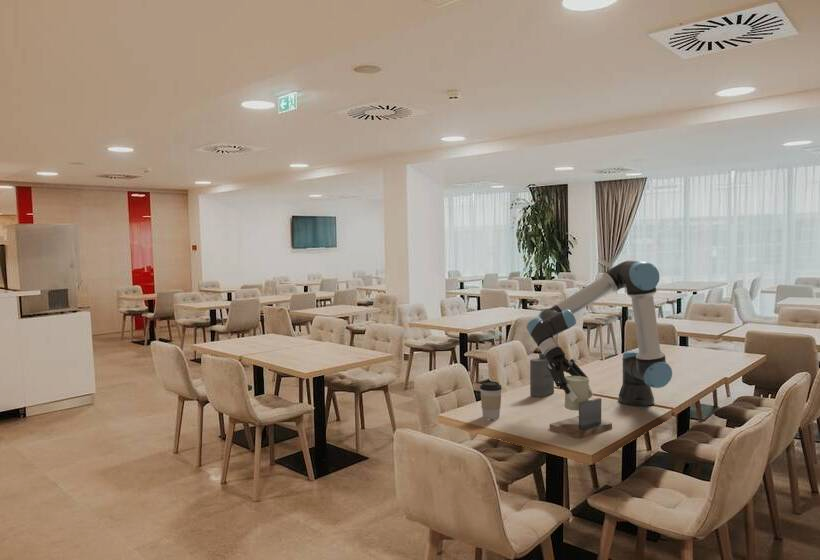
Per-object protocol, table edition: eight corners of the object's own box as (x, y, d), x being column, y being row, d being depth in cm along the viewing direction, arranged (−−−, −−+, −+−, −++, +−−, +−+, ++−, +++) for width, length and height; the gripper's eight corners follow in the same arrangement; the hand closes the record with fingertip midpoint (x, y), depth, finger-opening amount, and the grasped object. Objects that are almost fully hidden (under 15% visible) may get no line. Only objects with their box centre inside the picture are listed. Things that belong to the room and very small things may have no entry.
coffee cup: (505, 419, 240) (505, 383, 239) (485, 421, 237) (485, 385, 236) (496, 413, 248) (496, 378, 247) (476, 415, 246) (476, 380, 245)
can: (582, 412, 220) (582, 381, 220) (560, 407, 227) (560, 377, 226) (592, 406, 227) (593, 376, 226) (571, 402, 233) (571, 373, 233)
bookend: (599, 423, 226) (599, 398, 225) (605, 425, 224) (605, 399, 223) (578, 429, 219) (578, 403, 219) (585, 431, 217) (585, 405, 216)
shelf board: (583, 419, 237) (583, 414, 237) (612, 428, 226) (612, 423, 226) (549, 428, 226) (549, 423, 226) (578, 438, 215) (578, 433, 215)
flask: (538, 398, 270) (537, 356, 269) (528, 396, 274) (527, 354, 273) (557, 393, 280) (557, 352, 278) (547, 390, 284) (547, 350, 283)
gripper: (565, 353, 244) (595, 399, 232) (528, 360, 232) (559, 408, 220) (575, 343, 240) (607, 388, 228) (538, 348, 228) (570, 397, 215)
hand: (583, 398), depth 224 cm, fingers closed on can, 9 cm apart
